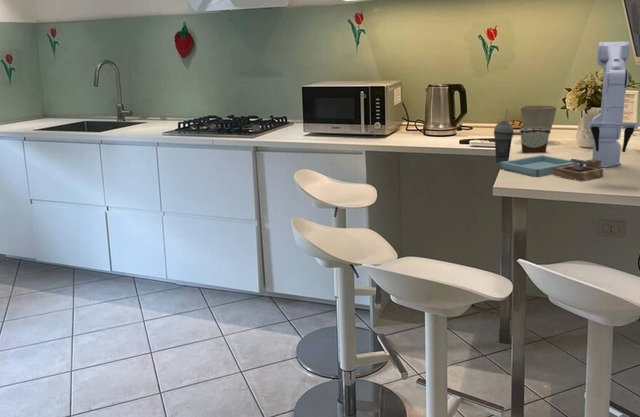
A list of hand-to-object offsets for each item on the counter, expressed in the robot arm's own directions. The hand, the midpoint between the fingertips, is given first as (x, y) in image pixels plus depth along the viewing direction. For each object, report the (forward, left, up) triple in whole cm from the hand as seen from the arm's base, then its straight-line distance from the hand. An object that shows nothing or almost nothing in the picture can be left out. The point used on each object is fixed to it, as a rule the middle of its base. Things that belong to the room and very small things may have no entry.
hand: (610, 151), depth 201 cm
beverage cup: (0, -46, -11) cm, 47 cm away
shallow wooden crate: (-4, -13, -10) cm, 17 cm away
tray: (-1, -29, -10) cm, 31 cm away
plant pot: (-43, -68, -11) cm, 81 cm away
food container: (-25, -54, -11) cm, 60 cm away
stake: (-2, -13, -10) cm, 17 cm away
